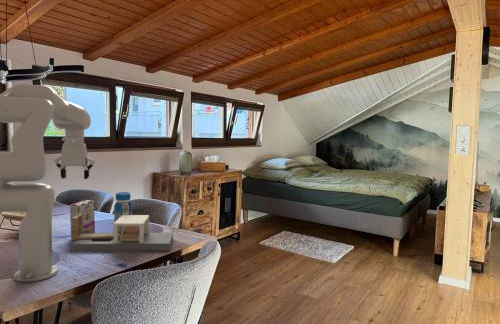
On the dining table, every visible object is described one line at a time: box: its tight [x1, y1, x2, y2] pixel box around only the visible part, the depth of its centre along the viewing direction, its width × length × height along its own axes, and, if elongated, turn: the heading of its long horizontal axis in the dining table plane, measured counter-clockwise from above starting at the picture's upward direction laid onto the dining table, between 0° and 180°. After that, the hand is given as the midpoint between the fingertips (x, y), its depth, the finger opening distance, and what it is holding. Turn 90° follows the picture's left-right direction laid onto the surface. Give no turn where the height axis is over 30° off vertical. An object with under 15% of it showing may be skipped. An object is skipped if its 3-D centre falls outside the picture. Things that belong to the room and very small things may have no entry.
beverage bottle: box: [113, 191, 133, 233], centre depth 169 cm, size 8×8×20 cm
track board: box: [69, 214, 174, 252], centre depth 153 cm, size 16×40×12 cm, turn 97°
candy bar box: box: [69, 199, 96, 241], centre depth 162 cm, size 11×5×16 cm, turn 168°
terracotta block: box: [125, 226, 139, 234], centre depth 153 cm, size 5×5×5 cm
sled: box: [70, 214, 139, 241], centre depth 152 cm, size 10×28×10 cm, turn 97°
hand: (75, 178), depth 157 cm, fingers open, 9 cm apart
